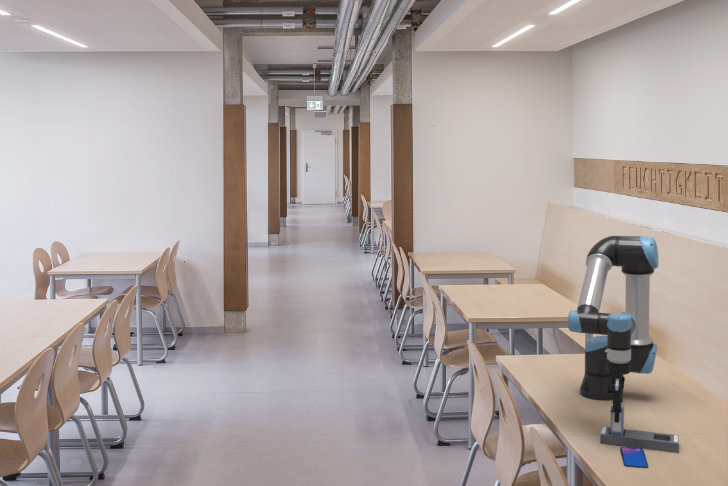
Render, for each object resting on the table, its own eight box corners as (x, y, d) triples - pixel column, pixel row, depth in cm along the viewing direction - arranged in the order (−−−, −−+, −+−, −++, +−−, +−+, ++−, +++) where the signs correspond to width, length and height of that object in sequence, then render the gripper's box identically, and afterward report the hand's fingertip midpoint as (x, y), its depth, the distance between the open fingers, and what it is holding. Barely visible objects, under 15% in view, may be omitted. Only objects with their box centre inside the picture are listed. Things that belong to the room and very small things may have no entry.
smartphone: (623, 465, 233) (619, 446, 247) (623, 468, 233) (619, 449, 247) (649, 467, 231) (643, 448, 245) (649, 470, 231) (643, 450, 245)
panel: (602, 434, 259) (602, 425, 258) (678, 443, 250) (678, 434, 249) (600, 443, 251) (600, 433, 251) (678, 452, 242) (678, 443, 242)
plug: (611, 437, 256) (611, 401, 254) (623, 439, 254) (624, 402, 253) (610, 441, 252) (610, 405, 251) (622, 443, 251) (623, 406, 249)
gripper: (608, 353, 259) (607, 418, 262) (604, 366, 244) (603, 436, 246) (632, 354, 256) (630, 421, 259) (629, 368, 241) (627, 439, 244)
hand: (617, 428), depth 253 cm, fingers closed on plug, 4 cm apart
